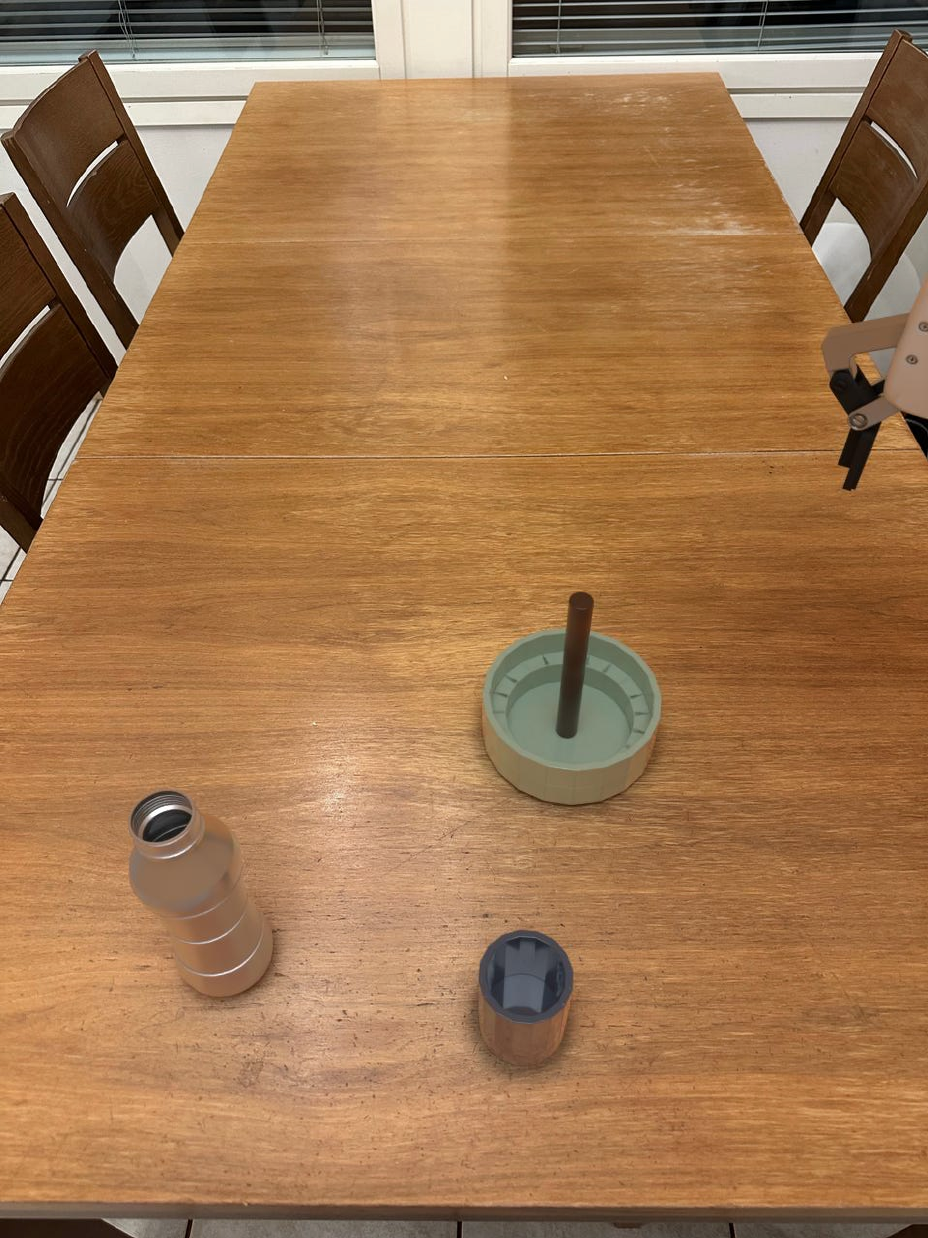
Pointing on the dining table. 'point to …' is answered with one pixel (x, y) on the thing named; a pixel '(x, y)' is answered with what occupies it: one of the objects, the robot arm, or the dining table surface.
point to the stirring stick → (574, 663)
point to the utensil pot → (524, 996)
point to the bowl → (607, 729)
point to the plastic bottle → (198, 893)
